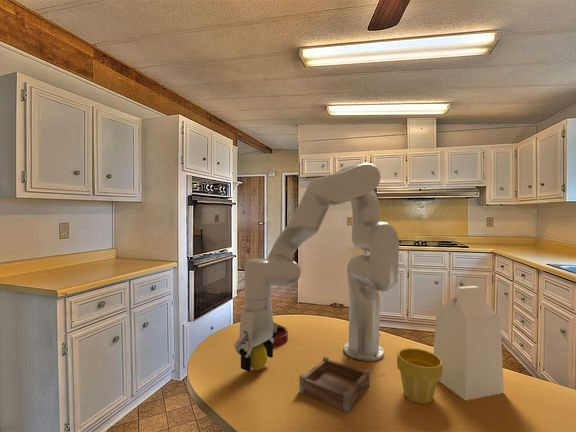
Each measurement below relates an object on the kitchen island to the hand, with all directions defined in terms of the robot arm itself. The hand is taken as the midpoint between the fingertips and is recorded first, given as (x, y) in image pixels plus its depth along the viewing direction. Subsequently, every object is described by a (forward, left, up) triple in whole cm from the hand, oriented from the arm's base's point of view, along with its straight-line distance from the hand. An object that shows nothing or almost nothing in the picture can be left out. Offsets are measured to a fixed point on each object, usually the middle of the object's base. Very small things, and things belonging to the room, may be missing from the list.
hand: (257, 362), depth 88 cm
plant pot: (-15, +40, -2) cm, 43 cm away
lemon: (0, 0, -2) cm, 2 cm away
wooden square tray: (-5, +22, -2) cm, 23 cm away
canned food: (-19, -9, -3) cm, 21 cm away
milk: (-28, +49, -3) cm, 56 cm away
